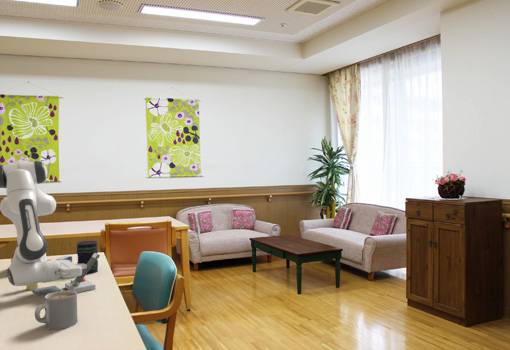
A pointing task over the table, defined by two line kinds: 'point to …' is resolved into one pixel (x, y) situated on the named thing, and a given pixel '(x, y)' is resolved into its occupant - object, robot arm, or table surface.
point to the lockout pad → (46, 290)
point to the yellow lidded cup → (32, 286)
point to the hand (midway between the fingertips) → (85, 265)
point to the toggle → (85, 271)
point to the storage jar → (87, 254)
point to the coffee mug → (58, 310)
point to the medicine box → (65, 258)
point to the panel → (80, 286)
